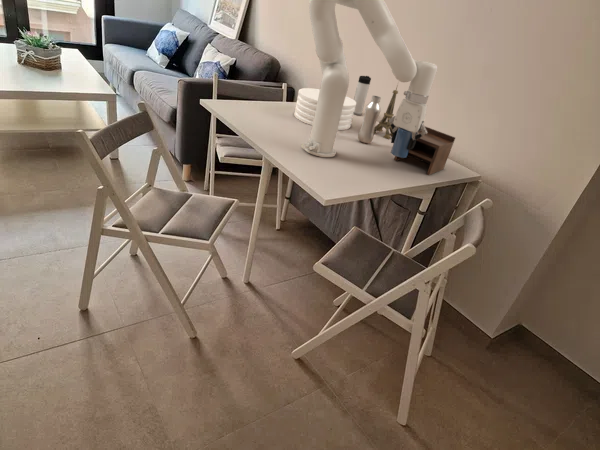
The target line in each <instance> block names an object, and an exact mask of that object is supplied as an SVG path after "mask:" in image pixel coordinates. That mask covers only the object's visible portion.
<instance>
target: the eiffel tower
mask: <svg viewBox="0 0 600 450" xmlns="http://www.w3.org/2000/svg"><path fill="white" fill-rule="evenodd" d="M398 86H399V84H397V85H396V88H395V89H393V91H392V96H391V98H390V101H389V104H388V106H387V108H386V111H385V112H383V117H382V119H381V120H380V121H379V122H378V123H377V124H375V129H374V135H375V134H377V132H383V131H384V130H383V128H384V129H385V131H384V132H385V133H384V135H383V138H384V139H386V140H391V137H392V135H393V132H392V127H391V124H390V122H389V119H390V118H392V117H394V116H395V113H394V110H395V105H396V104H395V102H396V98H397V94H399V90H398Z"/></svg>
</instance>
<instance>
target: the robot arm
mask: <svg viewBox="0 0 600 450" xmlns="http://www.w3.org/2000/svg"><path fill="white" fill-rule="evenodd" d="M336 5H340V6H343V7H347V8H349V9H350V8H351V9H354V10H357V11H358V12H359V14H360V16H361V18H362V21H363V22H364V24H365V25H366V27H367V29H368V31H369V33H370V35H371V37H372V39H373V41H374V42H375V45H377V47H378V48H379V49H380V51H381V52H382V54H383V56H384V57H385V60H386V62H387V63H388V65H389V67H390V69H391V73H392V74H393V76H394V77H395V79H396V80H397V81H398V82H401V83H408V82H410V83H409V86H408V90H404V92H403V96H405V97H404V98H403V99H402V100H401V102H400V104H399V106H398V108H397V111H396V112H395V113H396V114H395V115H394V116H392V118H390V119H389V122H390V124H391V127H392V132H393V135H392V136H391V137H390V143H391V144H393V143H394V140H395V137H396V133H397V130H398V127H399V128H402V129H404V130H407V131H410V132H412V139H410V142H409V145H408V148H407V149H408V150H411V149H413V148H414V146H415V143H416V140H417V139H419V138H421V137H422V136H424V135H426V134H427V133H428V132H427V130H426V128H425V120H426V118H427V117H426V116H427V113H428V105H427V103H428V100H429V97H430V93H431V90H432V87H433V85H434V81H435V78H436V76H437V73H438V65H437V64H436V63H433V62H430V61H426V60H418V59H415V58H414V57H413V55H412V53H411V51H410V49H409V48H408V46H407V44H406V42H405V40H404V38H403V36H402V33H401V32H400V28H399V27H398V25H397V23H396V20H395V18H394V16H393V15H392V13H391V11H390V9H389V6H388V5H387V3H386V0H309V2H308V13H309V19H310V20H309V21H310V24H311V30H312V34H313V39H314V45H315V52H316V55H317V57H318V61H319V65H320V69H321V73H322V78H321V82H320V88H319V89H320V92H319V97H318V101H317V106H316V111H315V116H314V121H313V125H311V129H310V130H311V131H310V136H309V138H308V140H307V142H304V143H302V144H301V149H303V150H304V151H305V152H306V153H308V154H311V155H312V156H316V157H320V158H333V157H335V156H336V153H337V152H336V149H334V145H335V141H336V138H337V133H338V130H337V129H338V125H339V121H340V117H341V112H342V108H343V104H344V101H345V97H346V96H347V93H348V89H349V85H350V75H349V70H348V65H347V58H346V54H345V49H344V48H345V47H344V43H343V40H342V38H341V36H340V32H339V28H338V23H337V17H336ZM421 130H422V133H420V134H418V132H419V131H421Z"/></svg>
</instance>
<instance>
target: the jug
mask: <svg viewBox="0 0 600 450" xmlns="http://www.w3.org/2000/svg"><path fill="white" fill-rule="evenodd" d="M410 139H412V132H410V131H407V130H404V129H402V128H399V127H398V130H397V133H396V137H395V140H394V143H392V147H391V150H390V154H391V155H392V156H394V157H395V156H397V157H401V158H404V159H407V158H408V157H407V155H408V152H409V150H408V149H407V148H408V145H409V142H410ZM406 157H407V158H406Z"/></svg>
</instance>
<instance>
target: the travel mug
mask: <svg viewBox="0 0 600 450" xmlns="http://www.w3.org/2000/svg"><path fill="white" fill-rule="evenodd" d="M371 81H372V77H370V76H369V75H359V77H358V80H357V84H356V89H355V91H354V96H353V100H354V101H356V106H355V111H354V112H353V113H354V115H355V116H362V114H363V112H364V111H363V110H364V109H365V108H364V107H365V104H366V101H367V97H368V93H369V88H370V85H371ZM354 115H353V116H354Z"/></svg>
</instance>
